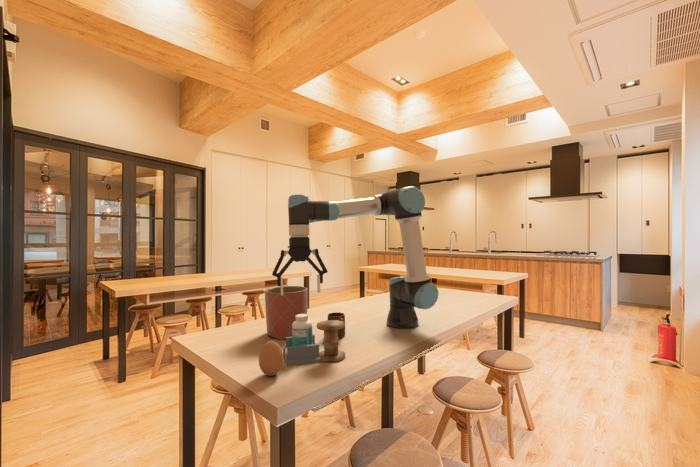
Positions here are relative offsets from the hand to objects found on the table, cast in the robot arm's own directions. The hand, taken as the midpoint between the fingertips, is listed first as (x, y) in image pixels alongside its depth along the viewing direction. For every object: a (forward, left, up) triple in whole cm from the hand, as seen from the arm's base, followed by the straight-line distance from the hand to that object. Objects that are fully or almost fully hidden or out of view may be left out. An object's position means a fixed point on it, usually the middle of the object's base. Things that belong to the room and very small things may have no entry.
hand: (300, 293), depth 118 cm
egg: (+11, +15, -23) cm, 29 cm away
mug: (-17, -15, -23) cm, 32 cm away
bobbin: (-10, +6, -22) cm, 25 cm away
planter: (+4, -28, -23) cm, 36 cm away
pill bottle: (0, 0, -22) cm, 22 cm away
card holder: (0, 0, -22) cm, 23 cm away
